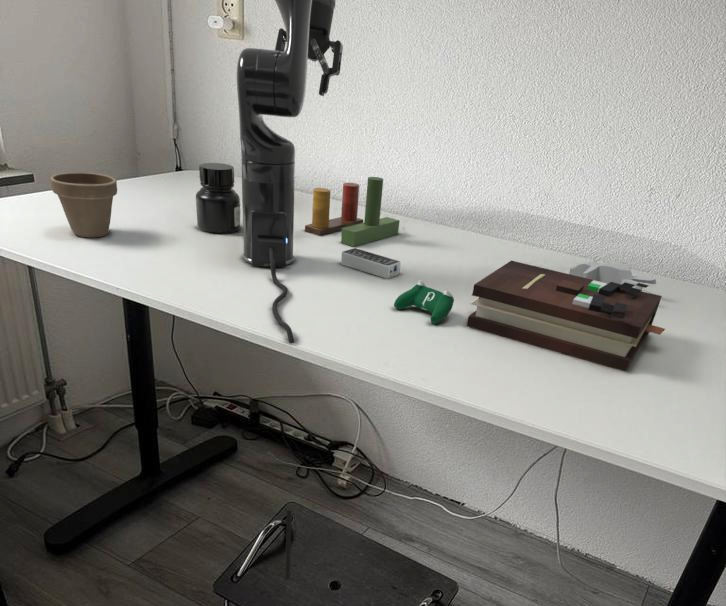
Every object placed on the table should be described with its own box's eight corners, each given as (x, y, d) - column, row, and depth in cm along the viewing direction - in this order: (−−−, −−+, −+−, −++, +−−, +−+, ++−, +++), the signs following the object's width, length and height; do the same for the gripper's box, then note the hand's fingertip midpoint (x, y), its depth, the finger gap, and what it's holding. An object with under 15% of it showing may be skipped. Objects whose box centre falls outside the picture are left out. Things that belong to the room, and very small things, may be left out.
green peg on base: (354, 246, 136) (358, 184, 129) (340, 242, 138) (344, 180, 131) (398, 234, 147) (404, 176, 140) (385, 230, 149) (391, 172, 142)
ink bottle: (248, 232, 138) (247, 170, 131) (208, 236, 134) (205, 172, 127) (228, 220, 144) (226, 160, 137) (190, 223, 140) (186, 161, 133)
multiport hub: (354, 259, 129) (354, 247, 128) (400, 273, 124) (401, 261, 123) (340, 263, 126) (340, 251, 125) (386, 278, 121) (388, 266, 120)
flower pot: (122, 225, 135) (115, 172, 129) (124, 241, 126) (117, 185, 121) (60, 225, 132) (51, 170, 126) (58, 242, 123) (48, 183, 117)
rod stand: (320, 235, 141) (322, 193, 136) (304, 230, 143) (306, 188, 138) (363, 225, 151) (366, 185, 146) (347, 220, 153) (350, 181, 148)
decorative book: (501, 251, 115) (680, 292, 104) (493, 293, 119) (664, 337, 108) (457, 277, 101) (658, 328, 90) (449, 324, 105) (640, 378, 94)
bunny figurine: (588, 254, 131) (663, 266, 122) (584, 280, 134) (656, 293, 125) (564, 261, 125) (640, 274, 116) (560, 289, 128) (634, 303, 119)
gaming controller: (442, 333, 107) (462, 303, 107) (434, 321, 103) (455, 289, 104) (399, 316, 111) (418, 286, 112) (390, 303, 108) (410, 273, 108)
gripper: (278, -10, 135) (266, 80, 141) (345, 4, 134) (330, 94, 140) (288, 3, 142) (276, 88, 148) (352, 16, 141) (337, 101, 147)
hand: (302, 91), depth 144 cm, fingers open, 8 cm apart
